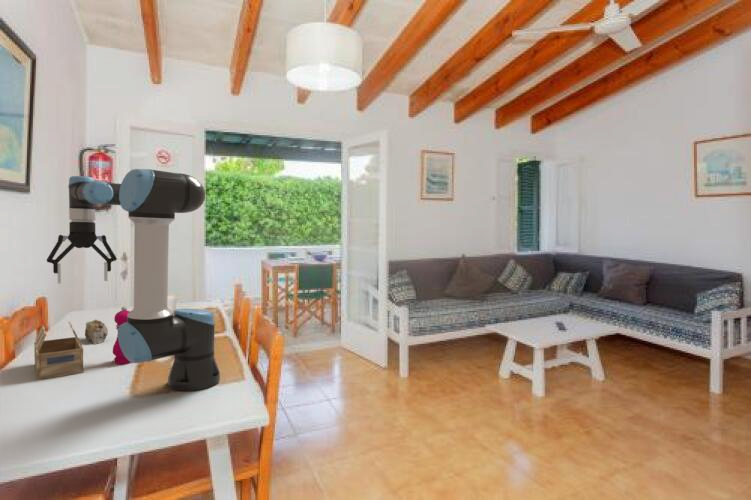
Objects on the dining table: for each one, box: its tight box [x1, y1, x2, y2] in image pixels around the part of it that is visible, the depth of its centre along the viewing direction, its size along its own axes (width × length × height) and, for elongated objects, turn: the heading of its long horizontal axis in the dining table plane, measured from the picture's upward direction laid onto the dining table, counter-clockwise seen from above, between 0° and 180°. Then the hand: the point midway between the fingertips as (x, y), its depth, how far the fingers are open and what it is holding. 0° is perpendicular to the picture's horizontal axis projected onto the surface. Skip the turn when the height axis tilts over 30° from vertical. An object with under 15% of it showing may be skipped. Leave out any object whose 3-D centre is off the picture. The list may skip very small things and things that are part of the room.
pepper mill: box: [112, 305, 133, 366], centre depth 153 cm, size 7×7×20 cm
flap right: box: [67, 321, 83, 347], centre depth 147 cm, size 16×6×1 cm
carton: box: [33, 336, 84, 381], centre depth 145 cm, size 19×12×8 cm, turn 40°
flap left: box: [34, 324, 47, 352], centre depth 141 cm, size 16×6×1 cm
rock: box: [84, 319, 109, 345], centre depth 180 cm, size 12×7×10 cm, turn 46°
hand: (83, 281), depth 152 cm, fingers open, 13 cm apart
